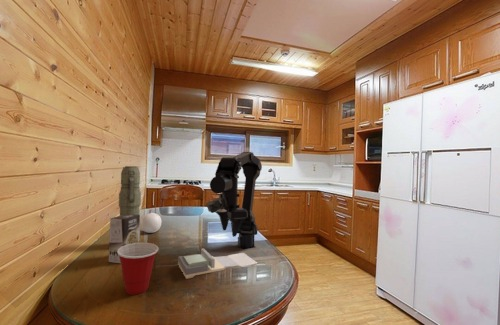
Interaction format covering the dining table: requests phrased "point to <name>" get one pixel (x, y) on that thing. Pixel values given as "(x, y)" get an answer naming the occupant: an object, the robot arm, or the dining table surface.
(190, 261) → the green block on base
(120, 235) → the coffee box
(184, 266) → the dock
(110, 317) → the dining table surface
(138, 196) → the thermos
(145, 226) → the ornament
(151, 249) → the plastic cup
